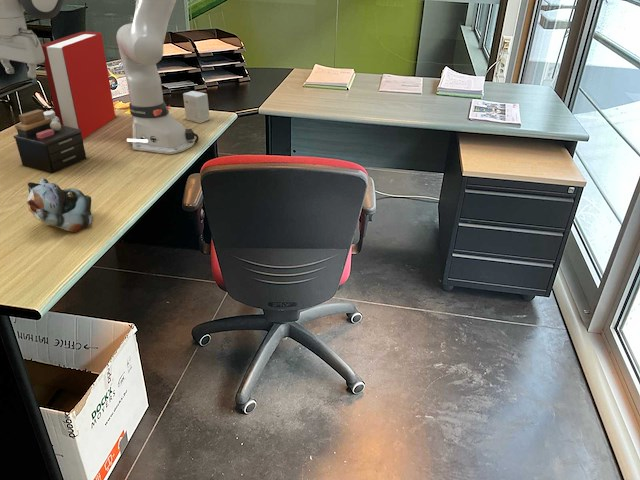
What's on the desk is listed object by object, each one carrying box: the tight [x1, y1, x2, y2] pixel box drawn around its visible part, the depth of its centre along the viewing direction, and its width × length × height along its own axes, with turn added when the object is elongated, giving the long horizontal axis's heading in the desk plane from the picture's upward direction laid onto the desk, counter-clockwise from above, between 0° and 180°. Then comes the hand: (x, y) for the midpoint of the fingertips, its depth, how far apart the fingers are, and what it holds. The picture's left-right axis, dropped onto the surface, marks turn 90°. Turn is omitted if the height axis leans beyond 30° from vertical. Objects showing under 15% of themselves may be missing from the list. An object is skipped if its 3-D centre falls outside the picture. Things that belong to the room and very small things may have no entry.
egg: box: [50, 121, 61, 131], centre depth 171 cm, size 3×3×3 cm
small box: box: [182, 90, 211, 124], centre depth 213 cm, size 8×6×10 cm
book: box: [41, 30, 116, 139], centre depth 197 cm, size 27×8×32 cm, turn 172°
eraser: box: [36, 129, 54, 139], centre depth 167 cm, size 5×2×1 cm, turn 154°
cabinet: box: [13, 125, 87, 175], centre depth 173 cm, size 14×14×10 cm
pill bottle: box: [43, 110, 61, 124], centre depth 190 cm, size 5×5×10 cm
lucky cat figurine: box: [26, 178, 94, 233], centre depth 137 cm, size 15×12×14 cm
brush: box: [14, 108, 52, 137], centre depth 169 cm, size 4×10×6 cm, turn 154°
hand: (21, 75), depth 162 cm, fingers open, 8 cm apart
